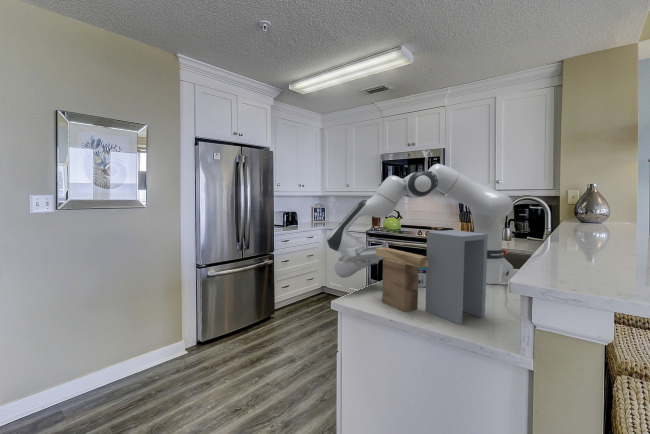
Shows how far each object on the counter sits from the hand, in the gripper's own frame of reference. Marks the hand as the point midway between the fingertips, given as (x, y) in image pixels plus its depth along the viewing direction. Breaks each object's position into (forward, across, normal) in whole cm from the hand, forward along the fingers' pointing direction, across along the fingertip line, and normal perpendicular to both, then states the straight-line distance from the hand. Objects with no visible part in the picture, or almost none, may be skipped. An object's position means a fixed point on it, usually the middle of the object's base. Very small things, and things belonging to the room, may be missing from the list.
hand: (376, 245), depth 120 cm
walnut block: (+2, 0, +23) cm, 23 cm away
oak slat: (+9, 0, +9) cm, 13 cm away
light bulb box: (-12, +26, +15) cm, 33 cm away
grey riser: (+14, +10, +30) cm, 35 cm away
